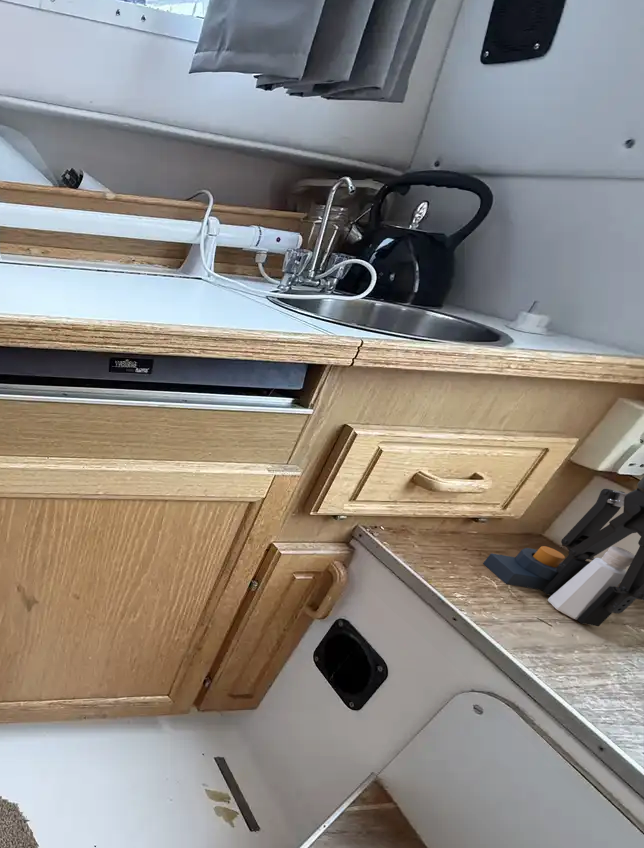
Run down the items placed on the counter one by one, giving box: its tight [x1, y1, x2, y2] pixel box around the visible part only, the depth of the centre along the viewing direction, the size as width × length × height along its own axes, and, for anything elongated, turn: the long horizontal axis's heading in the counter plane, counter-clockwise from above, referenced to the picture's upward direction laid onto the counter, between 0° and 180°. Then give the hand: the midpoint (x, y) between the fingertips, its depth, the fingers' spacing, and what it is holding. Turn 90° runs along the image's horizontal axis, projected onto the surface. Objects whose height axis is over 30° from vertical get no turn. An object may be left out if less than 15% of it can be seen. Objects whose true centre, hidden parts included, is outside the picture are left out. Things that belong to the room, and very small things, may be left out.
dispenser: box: [482, 547, 563, 591], centre depth 87 cm, size 12×6×4 cm, turn 88°
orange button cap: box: [533, 545, 566, 568], centre depth 85 cm, size 3×3×2 cm
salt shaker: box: [547, 545, 636, 621], centre depth 79 cm, size 5×5×11 cm
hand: (569, 607), depth 81 cm, fingers closed on salt shaker, 5 cm apart
